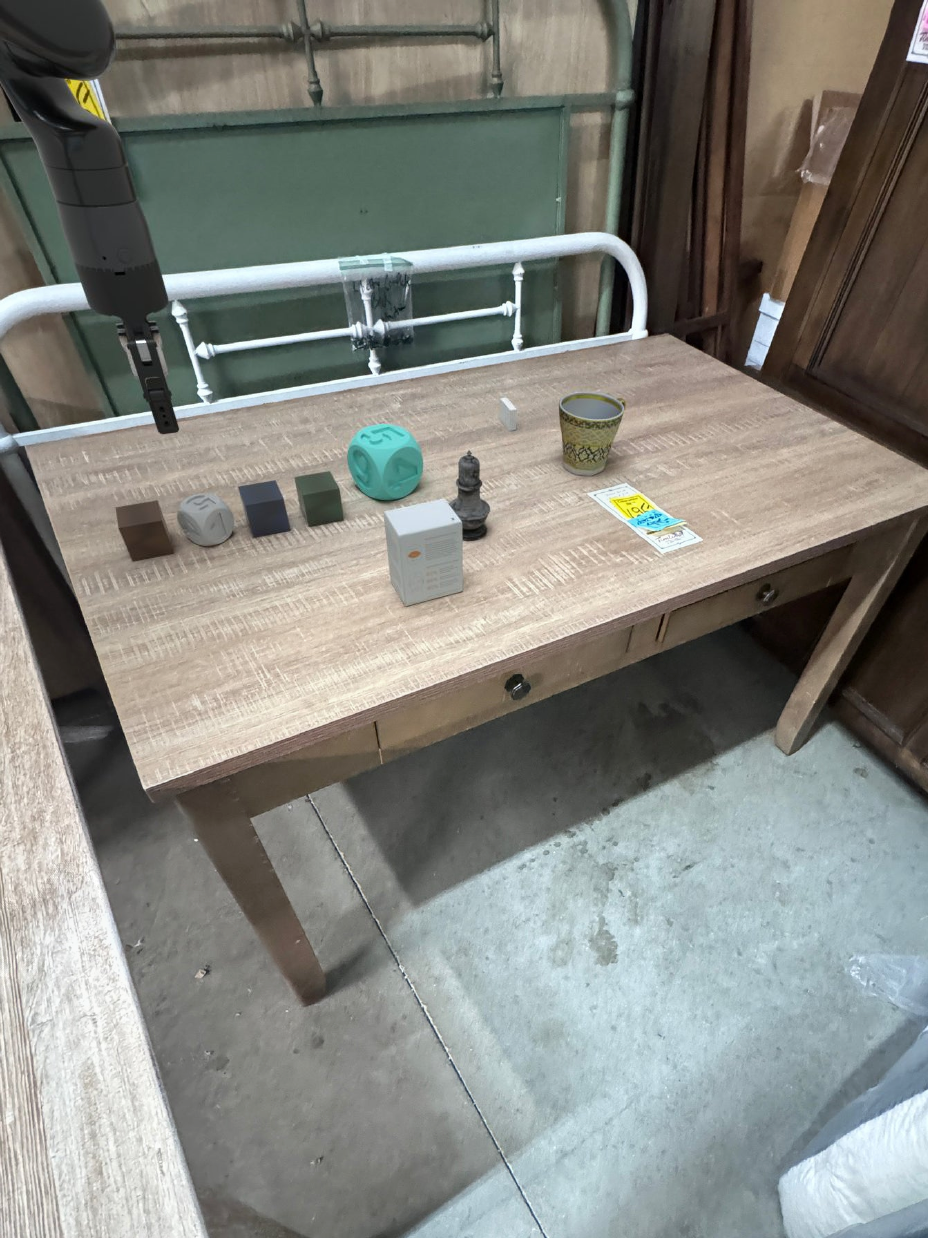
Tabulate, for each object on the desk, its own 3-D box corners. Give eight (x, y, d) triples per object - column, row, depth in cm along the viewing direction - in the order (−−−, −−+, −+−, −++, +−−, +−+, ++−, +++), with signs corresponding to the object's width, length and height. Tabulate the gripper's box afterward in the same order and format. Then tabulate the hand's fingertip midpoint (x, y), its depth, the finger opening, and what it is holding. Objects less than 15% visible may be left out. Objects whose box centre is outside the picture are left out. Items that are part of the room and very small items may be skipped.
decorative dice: (425, 487, 104) (423, 437, 98) (384, 506, 100) (379, 455, 94) (391, 467, 107) (387, 418, 101) (349, 485, 103) (343, 434, 97)
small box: (447, 567, 90) (445, 496, 83) (464, 592, 87) (463, 520, 79) (389, 581, 88) (381, 509, 80) (404, 607, 84) (398, 535, 77)
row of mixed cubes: (132, 561, 87) (118, 527, 84) (129, 540, 91) (115, 507, 87) (344, 519, 97) (339, 488, 93) (334, 502, 100) (329, 470, 96)
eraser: (505, 417, 122) (506, 397, 119) (515, 430, 119) (517, 409, 116) (499, 418, 121) (499, 397, 119) (509, 431, 118) (510, 410, 116)
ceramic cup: (583, 488, 106) (592, 426, 99) (540, 462, 111) (545, 401, 104) (638, 464, 113) (650, 404, 105) (595, 440, 118) (604, 381, 110)
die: (209, 550, 90) (198, 517, 86) (183, 537, 92) (171, 504, 88) (238, 533, 93) (229, 500, 89) (212, 521, 95) (202, 488, 91)
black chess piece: (458, 545, 94) (457, 465, 85) (441, 523, 97) (439, 444, 89) (496, 536, 96) (499, 456, 87) (478, 515, 99) (480, 436, 91)
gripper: (69, 236, 70) (124, 395, 82) (74, 277, 62) (135, 448, 73) (148, 233, 73) (190, 387, 84) (164, 272, 64) (208, 438, 76)
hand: (164, 416), depth 79 cm, fingers open, 8 cm apart
